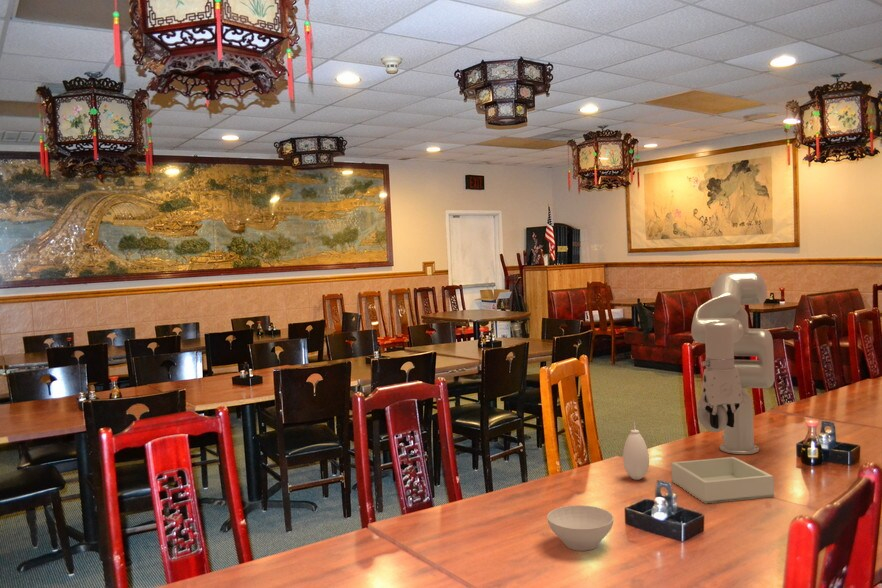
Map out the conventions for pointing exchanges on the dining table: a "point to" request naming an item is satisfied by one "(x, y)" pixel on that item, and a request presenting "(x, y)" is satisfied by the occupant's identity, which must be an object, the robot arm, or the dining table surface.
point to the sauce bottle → (635, 455)
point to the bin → (722, 480)
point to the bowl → (580, 525)
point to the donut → (705, 418)
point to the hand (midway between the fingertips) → (722, 426)
